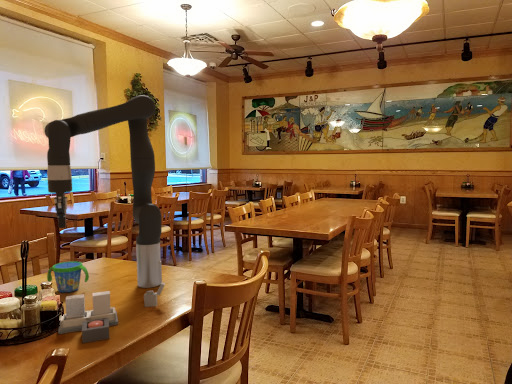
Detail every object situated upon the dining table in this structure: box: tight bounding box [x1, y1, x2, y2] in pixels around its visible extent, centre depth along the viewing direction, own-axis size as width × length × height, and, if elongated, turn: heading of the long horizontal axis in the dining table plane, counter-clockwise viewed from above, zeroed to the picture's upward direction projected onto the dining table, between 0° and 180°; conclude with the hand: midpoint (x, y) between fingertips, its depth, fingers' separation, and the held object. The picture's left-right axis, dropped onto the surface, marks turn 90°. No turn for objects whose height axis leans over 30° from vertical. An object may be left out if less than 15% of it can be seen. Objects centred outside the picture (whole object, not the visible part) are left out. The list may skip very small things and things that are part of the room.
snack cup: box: [46, 260, 90, 293], centre depth 150 cm, size 16×10×10 cm
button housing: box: [81, 318, 110, 344], centre depth 111 cm, size 7×7×4 cm
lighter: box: [143, 281, 166, 308], centre depth 133 cm, size 7×2×8 cm, turn 97°
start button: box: [88, 321, 103, 328], centre depth 111 cm, size 4×4×2 cm
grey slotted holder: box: [57, 290, 119, 335], centre depth 119 cm, size 16×9×9 cm, turn 112°
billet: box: [65, 293, 86, 320], centre depth 118 cm, size 5×3×8 cm, turn 112°
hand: (62, 227), depth 135 cm, fingers closed
